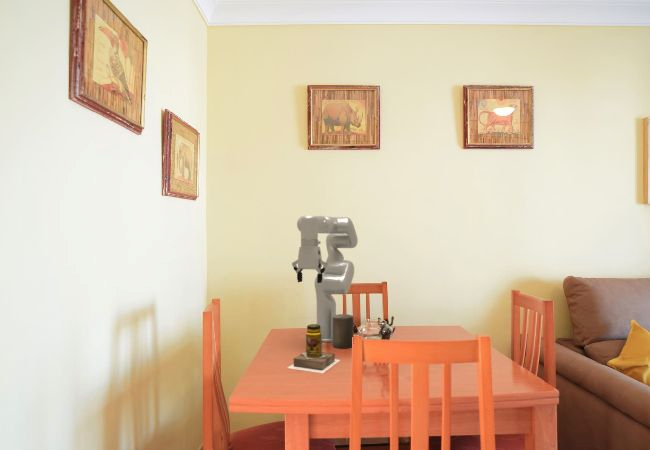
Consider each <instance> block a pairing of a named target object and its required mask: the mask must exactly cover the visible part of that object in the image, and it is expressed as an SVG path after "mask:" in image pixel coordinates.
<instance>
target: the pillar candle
mask: <svg viewBox="0 0 650 450" xmlns="http://www.w3.org/2000/svg"><path fill="white" fill-rule="evenodd" d="M352 337H353V338H354V315H352V314H346V313H345V314H344V313H341V314H336V315H334V316H333V341H332V346H333V347H334V348H335V349H336V348H337V349H349V348H353V347H352Z"/></svg>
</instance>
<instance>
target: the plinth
mask: <svg viewBox="0 0 650 450" xmlns="http://www.w3.org/2000/svg"><path fill="white" fill-rule="evenodd" d="M303 353H306V351H304V352H303ZM322 354H323V355H324V356H326V357H322V358H315V359H307V358H306V357H305V356H304V355H303V354H302V353H301V354H299V355H297V356H296V357H294V358H293V364H294V366H295V367H301V368H308V369H315V370H323V369H325V368H326V367H327V366H329V365H330V364H332V363H333V362H334V361H335V359H336V358H335V353H333V352H332V353H330V352H324V351H322Z"/></svg>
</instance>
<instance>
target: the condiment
mask: <svg viewBox="0 0 650 450" xmlns="http://www.w3.org/2000/svg"><path fill="white" fill-rule="evenodd" d="M320 330H321V329H320V325H318V324H317V323H315V324H313V323H312V324H308V325H307V326H306V333H305V352H306V353H304V352H301V354H303V355H304V356H305V357H306V358H307V359H315V358H322V357H326V356H324V355H323V354H322V352H323V351H322V350H323V349H322V344H323V342H322V340H321V332H320Z"/></svg>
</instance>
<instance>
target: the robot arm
mask: <svg viewBox="0 0 650 450" xmlns="http://www.w3.org/2000/svg"><path fill="white" fill-rule="evenodd" d="M296 226H297V229H298V231H299V232H300V247H299V249H298V256H297V259H296V260H294V261H293V262H292V263H291V265H292V268H293V270H294V271H295V273H296V280H297V283H301V282H303V272H302V271H303V270H316V272H317V275H316V277H315V279H314V289H315V297H316V298H315V299H316V324H318V325H320V329H321V330H320V332H321V340H322V343H323V342H325V343H329V342H330V343H333V316H334V315H337V304H336V300H335V297H333V295H347V294H348V293H349V292H350V288H351V286H352V281H353V279H354V276H355V266H354V265H355V264H354V263H353V262H352V261H350V260H347V259H346V260H345V258H344V255H343V253H342V252H341V251H340V250H339V249H353V248H356V247H357V245H358V242H359V239H358V234H357V232H356V229H355V228H356V227H355V224H354V223H353V221H352V219H351V218H350V217H347V216H345V217H343V216H341V217H340V216H339V217H338V216H337V217H335V216H334V217H333V216H326V215H324V216H323V215H302V216H300V217H299V218H298V220H297V223H296ZM319 234H327V235H326V238H325V244H326V245H325V246H326V251H327V258H326V260H325V261H324V260H322V259H323V258H322V253H321V252H322V251H321V247H320V246H319V245H321V240H319Z"/></svg>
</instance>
